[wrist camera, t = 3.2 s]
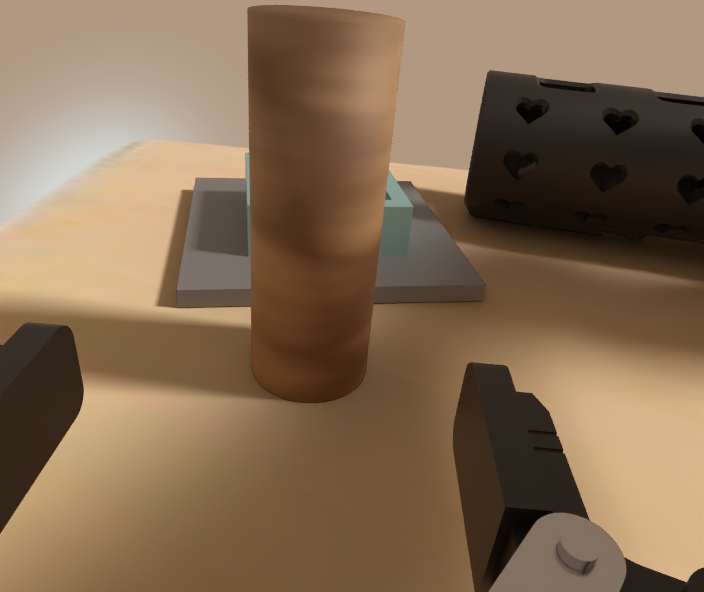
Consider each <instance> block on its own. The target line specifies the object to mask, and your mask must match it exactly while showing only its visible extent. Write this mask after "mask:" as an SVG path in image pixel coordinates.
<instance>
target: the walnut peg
mask: <svg viewBox="0 0 704 592" xmlns="http://www.w3.org/2000/svg"><path fill="white" fill-rule="evenodd" d="M404 29H405V21H404V20H402V19H399V18H396V17H392V16H388V15H382V14H376V13H370V12H362V11H354V10H346V9H336V8H323V7H310V6H290V5H262V6H252V7H249V8H248V83H249V84H248V85H249V86H248V87H249V171H250V254H251V338H252V372H253V374H254V377H255V379H256V380H257V382H258V383H259V384H260V385H261V386H262V387H263V388H264V389H266V390H267V391H269V392H270V393H272V394H274V395H276V396H278V397H281V398H284V399H287V400H291V401H297V402H306V403H317V402H325V401H330V400H334V399H338V398H340V397H343V396H345V395H347V394H349V393H350V392H352V391H353V390H355V389H356V388H357V387H358V386H359V385H360V383H361V382H362V381H363V378H364V376H365V372H366V364H367V355H368V346H369V337H370V328H371V320H372V311H373V302H374V293H375V284H376V276H377V267H378V258H379V249H380V240H381V232H382V223H383V214H384V205H385V196H386V188H387V179H388V170H389V160H390V152H391V144H392V135H393V126H394V117H395V108H396V100H397V91H398V81H399V73H400V64H401V56H402V47H403V38H404Z"/></svg>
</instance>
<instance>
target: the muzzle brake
mask: <svg viewBox="0 0 704 592" xmlns="http://www.w3.org/2000/svg"><path fill="white" fill-rule="evenodd" d="M464 204H465V205H467V208H468V211H469V214H470V215H472V216H477V217H484V218H490V219H497V220H503V221H510V222H516V223H522V224H529V225H535V226H542V227H548V228H555V229H561V230H568V231H574V232H581V233H587V234H594V235H601V234H602V233H603V232H604V233H610V234H617V235H623V236H630V237H631V238H632V240H633V241H639V242H640V241H641V240H642V239H643V238H645V237H646V236H647V235H650V236H657V237H664V238H670V239H677V240H683V241H690V242H696V243H703V244H704V97H696V96H688V95H679V94H671V93H662V92H654V91H653V90H651V89H646V88H637V87H628V86H619V85H611V84H603V83H592V84H586V83H577V82H568V81H560V80H551V79H543V78H537V77H536V76H534V75H525V74H517V73H508V72H500V71H491V70H490V71H489V72H488V73H487V77H486V82H485V87H484V93H483V97H482V103H481V108H480V113H479V119H478V124H477V129H476V135H475V140H474V146H473V151H472V157H471V162H470V168H469V173H468V179H467V185H466V191H465V197H464Z"/></svg>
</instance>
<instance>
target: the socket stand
mask: <svg viewBox="0 0 704 592" xmlns="http://www.w3.org/2000/svg"><path fill="white" fill-rule="evenodd" d="M245 164H246V179H240V178H196V180H195V185H194V191H193V197H192V203H191V208H190V214H189V220H188V226H187V231H186V237H185V243H184V249H183V254H182V260H181V266H180V272H179V277H178V283H177V289H176V292H177V304H178V308H180V307H224V306H251V254H250V171H249V153H245ZM485 287H486V284H485V283H484V281H483V280H482V279H481V277H480V276H479V275H478V273H477V272H476V270H475V269H474V268H473V266H472V265H471V264H470V262H469V261H468V259H467V258H466V257H465V255H464V254H463V253H462V251H461V250H460V248H459V247H458V246H457V244H456V243H455V242H454V240H453V239H452V238H451V236H450V235H449V233H448V232H447V231H446V229H445V228H444V227H443V225H442V224H441V222H440V221H439V220H438V218H437V217H436V216H435V214H434V213H433V211H432V210H431V209H430V207H429V206H428V205H427V203H426V202H425V200H424V199H423V198H422V196H421V195H420V194H419V192H418V191H417V189H416V188H415V187H414V185H413V184H412V183H411V181H396V180H395V178H394V177H393V175H392V174H391V172H390V171H389V170H388V179H387V188H386V196H385V205H384V214H383V223H382V232H381V240H380V249H379V258H378V267H377V276H376V284H375V293H374V302H373V303H403V302H447V301H482V300H483V296H484V291H485Z"/></svg>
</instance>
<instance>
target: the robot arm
mask: <svg viewBox="0 0 704 592" xmlns="http://www.w3.org/2000/svg"><path fill="white" fill-rule="evenodd" d="M83 394H84V388H83V382H82V377H81V371H80V366H79V361H78V356H77V351H76V346H75V341H74V336H73V333H72V331H71V329H70V328H69V327H68V326H63V325H51V324H40V323H26V324H24V325H23V326H21V327H20V328H19V329H18V330H17V331H16V332H15V334H14V335H13V336H12V337H11V338H10V339H9V340H8V341H7V342H6V343H5V344H4V345H3V346H2V345H0V533H1V532H2V530H3V529H4V527H5V526H6V524H7V523H8V521H9V520H10V518H11V517H12V515H13V513H14V512H15V510H16V509H17V507H18V506H19V504H20V503H21V501H22V500H23V498H24V497H25V495H26V494H27V492H28V491H29V489H30V488H31V486H32V485H33V483H34V482H35V480H36V478H37V477H38V475H39V474H40V472H41V471H42V469H43V468H44V466H45V465H46V463H47V462H48V460H49V459H50V457H51V456H52V454H53V453H54V451H55V450H56V448H57V447H58V445H59V443H60V442H61V440H62V439H63V437H64V436H65V434H66V433H67V431H68V430H69V428H70V427H71V425H72V424H73V422H74V421H75V419H76V418H77V416H78V414H79V412H80V409H81V406H82V401H83ZM556 434H557V432H556V429H555V426H554V424H553V421H552V418H551V416H550V413H549V411H548V410H547V409H546V408H545V407H544V406H543V405H542V404H541V403H540V401H539V400H538V399H537V398H536V397H535V396H534V395H533V394H532V393H524V392H516V391H515V387H514V384H513V381H512V378H511V375H510V372H509V369H508V367H507V366H504V365H493V364H482V363H469V364H468V365H467V368H466V371H465V375H464V380H463V384H462V389H461V393H460V398H459V402H458V407H457V411H456V416H455V420H454V428H453V451H454V458H455V464H456V471H457V477H458V484H459V491H460V497H461V504H462V511H463V517H464V524H465V530H466V537H467V544H468V550H469V557H470V563H471V570H472V577H473V583H474V590H475V592H704V568H701V569H698V570H697V571H695V572H694V573H693V574H692V575H691V577H690V578H689V580H688V581H687V582H684V581H681V580H679V579H676V578H673V577H670V576H668V575H665V574H662V573H660V572H657V571H654V570H651V569H649V568H646V567H643V566H641V565H639V564H636V563H634V562H632V561H630V560H628V559H627V558H625V557H624V556H623V553H622V551H621V550H620V548H619V546H618V545H617V543H616V542H615V541H614V539H613V538H612V537H611V536H610V535H609V534H608V533H607V532H606V531H604V530H603V529H602V528H601V527H599V526H598V525H596V524H595V523H593V522H591V521H590V520H589V517H588V515H587V512H586V509H585V507H584V504H583V501H582V499H581V496H580V493H579V491H578V488H577V485H576V483H575V480H574V477H573V475H572V472H571V469H570V467H569V464H568V461H567V459H566V456H565V454H563V448H562V445H561V442H560V440H559V437H558V436H557V435H556Z"/></svg>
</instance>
